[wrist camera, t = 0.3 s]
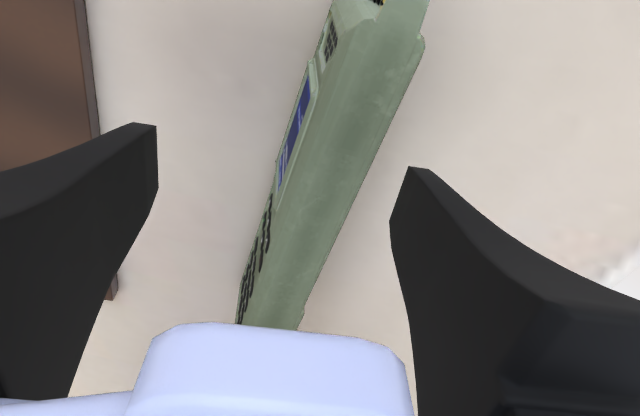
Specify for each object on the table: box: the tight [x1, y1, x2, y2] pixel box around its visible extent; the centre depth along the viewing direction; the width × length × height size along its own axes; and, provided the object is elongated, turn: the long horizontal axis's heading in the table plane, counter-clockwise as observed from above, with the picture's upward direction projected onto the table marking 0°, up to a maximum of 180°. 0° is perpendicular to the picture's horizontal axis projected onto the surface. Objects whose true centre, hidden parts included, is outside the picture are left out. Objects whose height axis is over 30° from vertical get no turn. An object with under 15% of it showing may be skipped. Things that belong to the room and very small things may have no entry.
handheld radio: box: [235, 0, 430, 331], centre depth 19 cm, size 7×3×25 cm
